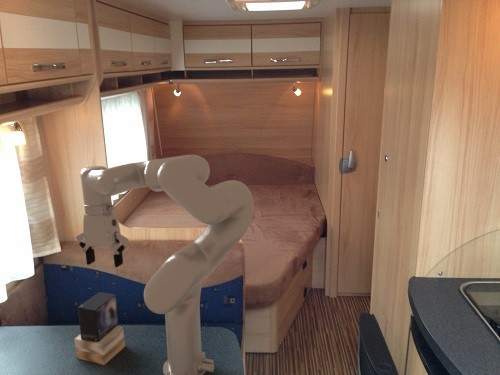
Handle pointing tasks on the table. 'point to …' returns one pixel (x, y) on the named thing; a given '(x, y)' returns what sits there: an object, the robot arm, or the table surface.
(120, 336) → the ash slab
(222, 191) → the robot arm
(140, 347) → the table surface
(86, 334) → the small box
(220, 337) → the table surface
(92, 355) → the oak slab
